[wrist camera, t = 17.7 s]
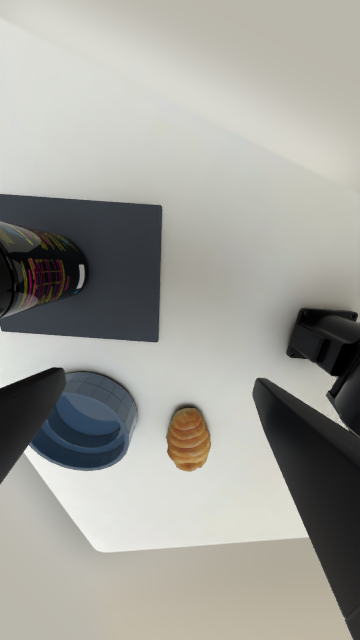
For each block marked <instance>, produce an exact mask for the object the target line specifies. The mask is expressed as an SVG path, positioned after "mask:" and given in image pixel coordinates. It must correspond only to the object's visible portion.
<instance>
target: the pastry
mask: <svg viewBox="0 0 360 640" xmlns="http://www.w3.org/2000/svg"><path fill="white" fill-rule="evenodd" d="M166 438H167V442H168V450H167V452H168V455H169V457H170V458H171V459H172V460H173V461H174V463H175V464H176V467H177V468H179V469H180V470H183V471H194V470H195V469H197V468H201V467H202V465H203V464H204V463H205V462H206V460H207V457H208V452H209V450H210V446H211V442H210V434H209V431H208V429H207V426H206V424H205V421H204V419H203V416H202V414H201V413H200V412H199V411H198V410H197V409H195V408H184V409H181V410H178V411H177V413H176V414H175V415H174V416H173V419H172V422H171V423H170V425H169V431H168V433H167V436H166Z"/></svg>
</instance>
